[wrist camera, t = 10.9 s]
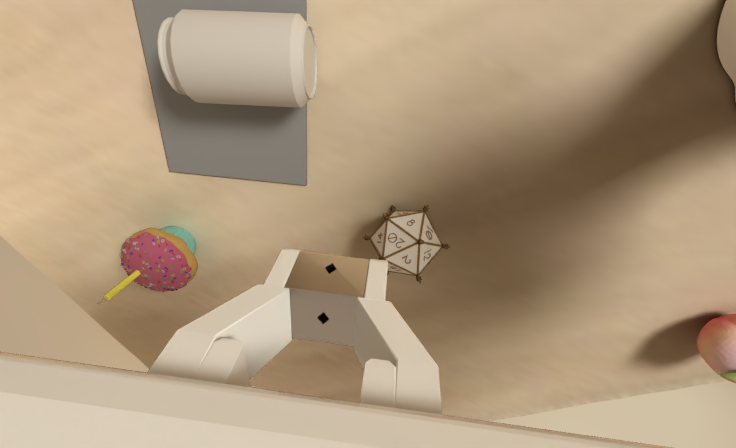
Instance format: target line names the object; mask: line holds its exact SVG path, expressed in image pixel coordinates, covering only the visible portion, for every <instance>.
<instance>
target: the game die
mask: <svg viewBox="0 0 736 448" xmlns="http://www.w3.org/2000/svg"><path fill="white" fill-rule="evenodd" d="M428 209H429V205H427V206H424V208H423V211H395V207H394V206H391V210H392V211H393V212H392V213H391V214H390V215H389V216H388V215H387V214H386V213H383V217H384V219H385V220H384V222H383V223H382V224H381V225H380V226H379V227H378V229H377V230H376V231H375V232H374V233H373V234H372V235H371V237H369V236H364V237H363V238H364V239H365V240H370V241H371V243H372V244H373V246H374V248H375V250H376V252H377V254H378V255H379V257H380V258H379V259H378V260H387V261H388V271H387V276H388V274H389V272H395V273H401V274H408V275H414V276H416V279H417V281H418V282H419V283H421V280H422V279H421V277H420V276H419V275H420V273H421V272H422V271H423V270H424V269H425V267H426V266H427V265H428V264H429V263H430V261H431V260H432V259H433V258H434V257H435V255H436V254H437V253H438V252H439V251H440V249H441V248H444V249H445V248H446V249H447V248H450V246H449V245H448V244H444V245H443V244H442V243H441V241H440V239H439V237H438V235H437V233H436V231H435V229H434V228H433V226H432V224H431V222H430V220H429V218H428V216H427V214H426V211H428Z"/></svg>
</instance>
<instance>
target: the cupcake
mask: <svg viewBox="0 0 736 448" xmlns="http://www.w3.org/2000/svg"><path fill="white" fill-rule="evenodd" d="M195 249H196V243H195V240H194V238H193V237H192V235H191V234H190V233H189V232H187V231H186V230H184V229H182V228H180V227H175V226H169V227H166V228H163V229H161V230H159V229H156V228H148V229H145V230H142V231H139V232H137V233H135V234H133V235H132V236H131V237H130V238H128V239H127V240H126V241H125V242H124V244H123V245H122V248H121V253H120V254H121V255H120V256H121V257H120V258H121V261H122V263H121V264H122V265H120V266H123V268H124V270H126V272H127V274H128V275H129V276H128V277H127V278H126V279H124V280H123V281H122V282H121V283H119V284H118V285H117V286H116V287H114V288H113V289H112V290H111V291H109V292H108V293H107V294H106V295H104V299H102V300H101V301H100V302H98V304H100V303H102V302H103V301H104V300H110V299H111V298H112V297H113V296H115V295H116V294H117V293H118V292H119V291H121V290H122V289H123V288H124V287H126V286H127V285H128V284H129V283H130V282H132V281H133V280H134V282H137V284H140V285H141V286H144V287H145V288H148V289H150V290H155V291H162V292H164V291H170V290H171V291H174V290H178V289H179V288H182V287H184V286H186V285H187V283H188V282H190V281H191V280H192V279H193V278H194V276H195V274H196V272H197V269H198V263H197V260H196V258H195V257H194V253H195Z"/></svg>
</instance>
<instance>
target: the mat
mask: <svg viewBox="0 0 736 448" xmlns="http://www.w3.org/2000/svg"><path fill="white" fill-rule="evenodd" d="M133 3H134V8H135V12H136V17H137V22H138V26H139V31H140V36H141V40H142V45H143V50H144V54H145V59H146V64H147V68H148V73H149V78H150V82H151V87H152V92H153V96H154V101H155V106H156V110H157V115H158V120H159V124H160V129H161V134H162V138H163V143H164V148H165V152H166V157H167V162H168V166H169V171H171V172H181V173H191V174H200V175H210V176H220V177H229V178H239V179H249V180H258V181H268V182H277V183H287V184H297V185H307V103H306V104H305V105H304V106H303V107H302V108H299V107H277V106H255V105H233V104H211V103H199V102H195V101H193V100H192V99H191V98H190V97H189V96H188V95H182V94H179V93H178V92H176V91H175V90H174V89H173V88H172V87H171V85H170V84H169V82H168V81H167V80H166V78H165V75H164V73H163V71H162V68H161V65H160V61H159V57H158V47H157V40H158V31H159V29H160V27H161V24H162V22H163V21H164V20H165V19H167V18H168V17H175V16H176V14H178V13H179V12H180V11H181V10H182V9H188V10H216V11H243V12H270V13H297V14H300V15H301V16H302V17H303V18H304V20H305V21H306V22H307V17H306V0H133Z"/></svg>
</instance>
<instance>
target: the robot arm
mask: <svg viewBox="0 0 736 448" xmlns="http://www.w3.org/2000/svg"><path fill="white" fill-rule="evenodd" d="M717 49H718V55H719V58H720V61H721V64H722V66H723V68H724V69H725V71H726V72H727V74H728V75H729V76H730V78H731V79H732V81H733V83H734V85H735V101H736V0H726V2H725V5H724V7H723V10H722V13H721V17H720V21H719V25H718V32H717ZM369 262H370V263H369ZM387 271H388V261H387V260H377V259H363V258H355V257H347V256H338V255H333V254H326V253H319V252H312V251H306V250H298V249H290V248H284V249H282V250H281V252H280V253H279V255H278V257H277V259H276V261H275V263H274V265H273V267H272V269H271V271H270V273H269V275H268V276H267V278H266V280H265V282H264V284H263V285H260V284H258V285H256V286H254V287H252V288H251V289H249V290H247V291H245V292H243V293H242V294H240V295H238V296H236V297H235V298H233V299H231V300H229V301H228V302H226V303H224V304H222V305H221V306H219V307H217V308H215V309H214V310H212V311H210V312H208V313H207V314H205V315H203V316H201V317H200V318H198V319H196V320H194V321H193V322H191V323H189V324H187V325H185V326H184V327H182V328H180V329H178V330H177V331H176V333H175V334H174V336H173V337H172V338H171V340H170V341H169V343H168V344H167V345H166V347H165V348H164V350H163V351H162V352H161V354H160V355H159V357H158V358H157V359H156V361H155V362H154V364H153V365H152V366H151V368H150V369H149V371H148V372H147V373H146V372H139V371H132V370H124V369H118V368H110V367H104V366H97V365H90V364H82V363H75V362H68V361H61V360H54V359H47V358H40V357H33V356H26V355H19V354H12V353H5V352H0V448H672V447H664V446H657V445H650V444H643V443H636V442H629V441H622V440H615V439H608V438H601V437H595V436H587V435H580V434H573V433H566V432H559V431H553V430H546V429H539V428H531V427H524V426H517V425H511V424H504V423H497V422H490V421H483V420H476V419H469V418H462V417H455V416H448V415H442V406H441V394H440V381H439V369H438V365H437V364H436V363H435V361H434V360H433V359H432V357H431V356H430V355H429V353H428V352H427V351H426V349H425V348H424V346H423V345H422V344H421V342H420V341H419V340H418V338H417V337H416V336H415V334H414V333H413V332H412V330H411V329H410V327H409V326H408V325H407V323H406V322H405V321H404V319H403V318H402V317H401V315H400V314H399V313H398V311H397V310H396V309H395V307H394V306H393V304H392V303H391V302H390V301H385V296H386V283H387ZM292 338H293V339H303V340H312V341H321V342H328V343H334V344H340V345H346V346H352V347H353V349H354V351H355V353H356V355H357V358H358V360H359V362H360V364H361V367H362V369H363V371H364V376H363V383H362V390H361V398H360V403H356V402H349V401H342V400H335V399H328V398H321V397H314V396H307V395H300V394H293V393H286V392H279V391H272V390H265V389H258V388H251V387H250V384H249V379H251V378H252V377H253V376H254V375H255V374H256V373H257V372H258V371H259V370H260V369H261V368H262V367H263V366H265V365H266V364H267V363H268V362H269V361H270V360H271V359H272V358H273V357H274V356H275V355H276V354H278V353H279V352H280V351H281V350H282V349H283V348H284V347H285V346H286V345H287V344H288V343H289V342H291V341H292Z"/></svg>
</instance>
